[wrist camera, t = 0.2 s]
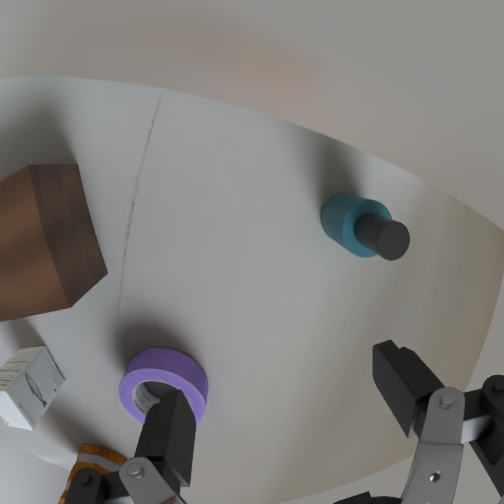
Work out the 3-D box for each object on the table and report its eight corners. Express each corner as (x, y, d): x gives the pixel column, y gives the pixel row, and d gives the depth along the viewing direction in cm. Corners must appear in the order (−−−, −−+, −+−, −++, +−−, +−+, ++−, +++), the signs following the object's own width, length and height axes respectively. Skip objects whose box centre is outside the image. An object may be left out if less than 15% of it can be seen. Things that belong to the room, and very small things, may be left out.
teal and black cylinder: (316, 198, 32) (359, 214, 21) (360, 190, 32) (418, 201, 21) (324, 245, 34) (366, 282, 22) (367, 235, 34) (422, 265, 22)
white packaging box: (67, 381, 38) (35, 432, 25) (39, 381, 38) (6, 426, 25) (46, 343, 36) (5, 391, 23) (19, 346, 36) (-21, 388, 23)
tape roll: (114, 355, 36) (102, 376, 32) (188, 338, 36) (183, 361, 31) (151, 412, 40) (144, 435, 35) (220, 401, 39) (219, 425, 34)
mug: (84, 467, 45) (67, 514, 30) (72, 435, 41) (47, 489, 27) (166, 489, 47) (158, 542, 32) (165, 462, 43) (155, 524, 29)
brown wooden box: (-3, 204, 30) (-49, 216, 20) (77, 163, 30) (28, 164, 20) (25, 294, 33) (-14, 324, 24) (108, 273, 33) (70, 307, 24)
